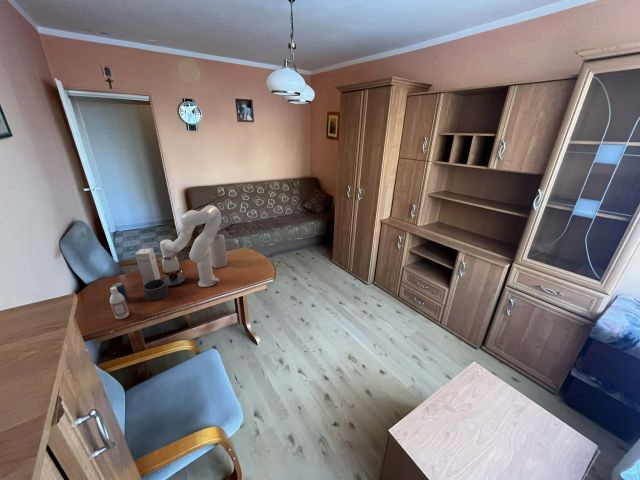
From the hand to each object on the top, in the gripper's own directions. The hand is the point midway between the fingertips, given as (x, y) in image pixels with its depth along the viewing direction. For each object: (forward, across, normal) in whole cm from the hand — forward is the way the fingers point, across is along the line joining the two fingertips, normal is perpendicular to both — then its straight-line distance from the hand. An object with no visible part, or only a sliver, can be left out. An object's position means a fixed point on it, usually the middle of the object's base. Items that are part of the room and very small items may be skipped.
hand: (173, 278), depth 194 cm
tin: (+3, +11, +12) cm, 17 cm away
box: (+3, +14, -9) cm, 17 cm away
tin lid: (+1, 0, 0) cm, 1 cm away
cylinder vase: (+3, -35, -12) cm, 37 cm away
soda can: (+3, +32, +7) cm, 33 cm away
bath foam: (+3, +30, +26) cm, 40 cm away
